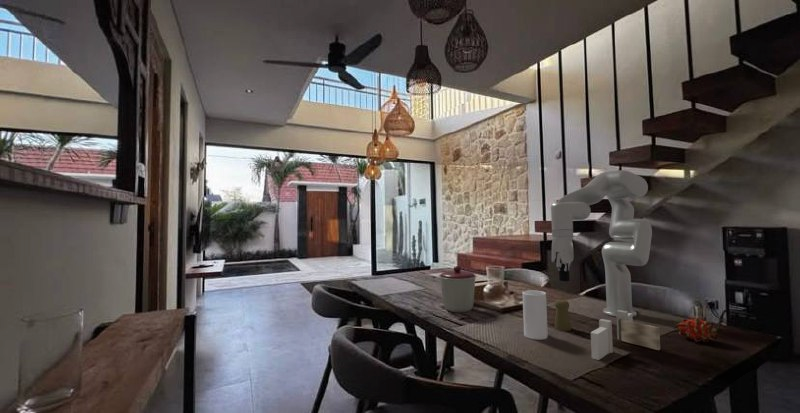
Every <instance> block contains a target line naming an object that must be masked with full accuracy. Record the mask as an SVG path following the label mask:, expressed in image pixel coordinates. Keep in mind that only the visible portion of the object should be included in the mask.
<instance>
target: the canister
mask: <svg viewBox="0 0 800 413" xmlns="http://www.w3.org/2000/svg"><path fill="white" fill-rule="evenodd" d="M477 276H478V275H477V274H475V273H474V272H471V271H467V270H462V268H461V266H460V265H455V266H453V270H448V271H444V272H441V273H440V274H439V275H438V277H439V280H440V287H441V293H442V294H441V295H442V300H443V305H444V308H445V309H446V310H447V311H449V312H451V313H467V312H469V311H471V310H472V309H473V307H474V300H475V289H476V279H477Z"/></svg>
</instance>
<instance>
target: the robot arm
mask: <svg viewBox="0 0 800 413" xmlns="http://www.w3.org/2000/svg"><path fill="white" fill-rule="evenodd" d="M648 190H649V184H648V183H647V181H646V179H644V178H643V177H642V176H640V175H638V174H635V173H634V172H631V171H629V170H624V169H623V170H612V171H605V172H601V173H598V174H597V175H596V176H595V177H594V178H593V179H592V180H590V181H589V182H588V183H587V184H586V185H585V186H583V187H581V188H578V189H576V190H574V191H572V192H570V193H567V194H566V195H563V196H562V197H561V198H560V199H558V200H557V201H556V202H553V203H552V204H551V206H550V217H551V218H550V219H551V238H552V240H551V241H552V242H551V263H553V264H556V266H555V267H556V268H557V270H558V277H559V279H558V280H559V281H560V282H567V283H568V282H570V266H571V265H572V264H571V263H572V262H573V261H574V255H575V254H574V244H573V238H574V221H584V220H587V219H588V218H589V216H590V215H591V212H592V211H591V207H590V206H591V205H594V204H597V203H600V202H601V201H602V200H603V199H604V198H605V197H606V198H607V200H608V201H609V203H610V206H611V216H610V221H609V230H608V231H609V232H608V234H609V236H610V237H611V239H614V240H619V241H609V242H606V243H604V245H603V246H602V248H601V256H602V260H603V265H604V272H605V293H606V294H605V297H606V307H604V308H603V309H602V313H604V315H608V316H611V317H616V311H617V310H621V311H627V312H628V313H632V317H633V318H635V317H637V316H638V314H637V312H636V311H635V310H633V301H632V300H633V299H632V298H633V297H632V277H631V276H632V275H631V272H630V269H629V268H628V267H627V266H636V267H643V266H646V265H647V264H648V261H649V259H650V258H649V257H650V252H651V251H650V250H651V243H652V238H653V237H652V236H653V230H652V229H653V228H652V225H651V223H650V222H649V221H648V220H647V219H644V218H643V219H642V218H634V215H635V208H634V206H633V204H631V202H630V201H629V200H628V199H629V198H640V197H644V196H645V195H646V194H647V193H648ZM623 241H633V242H623Z"/></svg>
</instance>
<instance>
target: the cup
mask: <svg viewBox="0 0 800 413" xmlns="http://www.w3.org/2000/svg"><path fill="white" fill-rule="evenodd" d="M547 307H548V306H547V293H546V292H545V291H541V290H533V289H532V290H531V289H528V290H523V291H522V311H523V312H522V313H523V314H522V315H523V316H522V317H523V336H524V337H526V338H528V339H530V340H531V339H532V340H537V341H538V340H546V339H547V338H548V337H549V334H548V333H549V332H548V312H547V311H548V310H547V309H548V308H547Z"/></svg>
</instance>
